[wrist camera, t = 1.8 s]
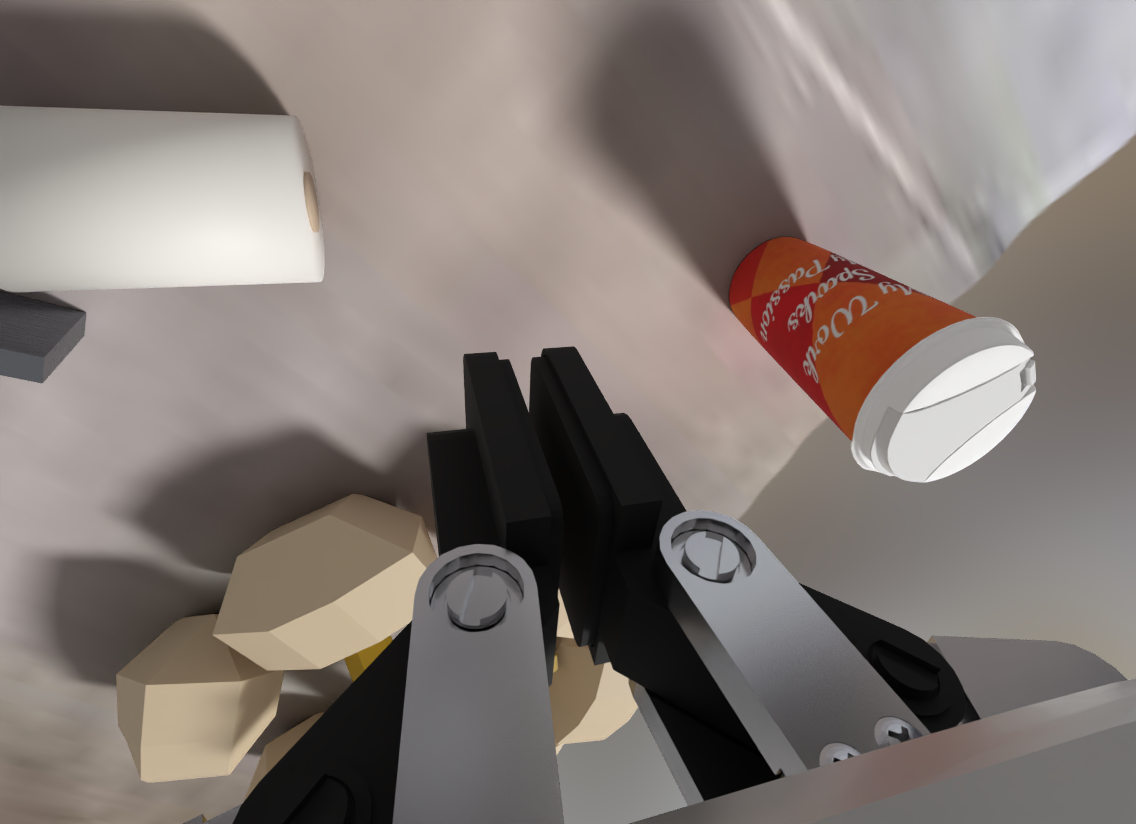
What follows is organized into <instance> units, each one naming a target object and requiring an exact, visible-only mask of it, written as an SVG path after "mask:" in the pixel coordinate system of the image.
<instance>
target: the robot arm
mask: <svg viewBox="0 0 1136 824" xmlns="http://www.w3.org/2000/svg"><path fill="white" fill-rule="evenodd" d="M463 364H464V389H465V413H466V429H462V430H452V431H442V432H433V433H427V443H428V454H429V465H430V475H431V485H432V495H433V505H434V515H435V524H436V533H437V542H438V551H439V557H438V558H437V559H436V560H435V561H433V562H432V563H431V564H429V565H428V567H427V568H426V570H425V571H424V573H423V574H422V575H421V577H420V578H419V581H418V584H417V588H416V591H415V596H414V606H413V616H412V621H411V622H410V623H409V624H408V625H407V626H406V627H405V628H404V629H403V630H402V631H401V632H400V633H399V634H398V636H397V637H396V638H395V639H394V640H393V641H392V642H391V643H390V644H389V645H388V646H387V647H386V648H385V649H384V650H383V651H382V652H381V654H380V655H379V656H378V657H377V658H376V659H375V660H374V661H373V662H372V663H371V664H370V665H369V666H368V667H367V668H366V669H365V670H364V672H363V673H362V674H361V675H360V676H359V677H358V678H357V679H356V680H355V681H354V682H353V683H352V684H351V685H350V686H349V687H348V688H347V689H346V691H345V692H344V693H343V694H342V695H341V696H340V697H339V698H338V699H337V700H336V701H335V702H334V703H333V704H332V705H331V706H330V707H329V709H328V710H327V711H326V712H325V713H324V714H323V715H322V716H321V717H320V718H319V719H318V720H317V721H316V722H315V723H314V724H313V725H312V727H311V728H310V729H309V730H308V731H307V732H306V733H305V734H304V735H303V736H302V737H301V738H300V739H299V740H298V741H297V742H296V743H295V745H294V746H293V747H292V748H291V749H290V750H289V751H288V752H287V753H286V754H285V755H284V756H283V757H282V758H281V759H280V760H279V761H278V762H277V764H276V765H275V766H274V767H273V768H272V769H271V770H270V771H269V772H268V773H267V774H266V775H265V776H264V777H263V778H262V779H261V780H260V782H259V783H258V784H257V785H256V787H255V788H254V789H253V791H252V792H251V793H250V795H249V796H248V797H247V799H246V800H245V801H244V802H243V804H241V805H239V806H237V807H235V808H233V809H231V810H229V811H227V812H225V813H223V814H221V815H219V816H216V817H214V818H212V819H210V820H208V821H207V820H206V818H205V817H204V816H203V814H201V815H199V816H197V817H195V818H193V819H191V820H189V821H187V822H185V823H183V824H564V817H563V809H562V800H561V791H560V782H559V774H558V765H557V756H556V747H555V738H554V730H553V721H552V712H551V703H550V695H549V687H550V686H551V684H552V679H553V668H554V658H555V648H556V638H557V627H558V617H559V607H560V603H559V600H558V590H560V594H561V597H562V600H563V603H564V607H565V610H566V613H567V616H568V620H569V623H570V626H571V629H572V633H573V636H574V639H575V642H576V644H577V646H578V647H583V646H587V645H588V647H589V650H590V653H591V656H592V660H593V663H594V666H595V665H600V664H604V663H609V662H611V665H612V668H613V670H614V671H616V672H618V673H620V674H622V675H623V676H625V677H627V678H628V684H629V687H630V690H631V693H632V696H633V698H634V700H635V702H636V704H637V706H638V708H639V710H640V712H641V714H642V716H643V718H644V720H645V722H646V724H647V726H648V728H649V730H650V732H651V734H652V735H653V737H654V739H655V741H656V743H657V745H658V747H659V749H660V751H661V753H662V755H663V757H664V759H665V761H666V763H667V765H668V767H669V769H670V771H671V773H672V775H673V777H674V779H675V781H676V783H677V785H678V787H679V789H680V791H681V793H682V795H683V797H684V799H685V801H686V803H687V805H688V806H687V807H683V808H680V809H677V810H673V811H670V812H667V813H664V814H660V815H657V816H654V817H650V818H647V819H643V820H640V821H637V822H633V823H630V824H1136V679H1131V680H1127V679H1126V678H1125V677H1124V676H1123V675H1122V674H1121V673H1120V672H1119V671H1118V670H1117V669H1116V668H1114V667H1113V666H1112V665H1110V664H1109V663H1107V662H1105V661H1104V660H1103V659H1101V658H1100V657H1098V656H1097V655H1095V654H1093V653H1091V652H1089V651H1087V650H1084V649H1082V648H1080V647H1078V646H1076V645H1073V644H1068V643H1063V642H1058V641H1042V640H1020V639H997V638H974V637H950V636H931V638H930V639H929V641H928V642H925V641H924V640H923V639H921V638H919V637H917V636H916V635H914V634H912V633H910V632H909V631H907V630H905V629H903V628H900V627H898V626H896V625H894V624H891V623H889V622H887V621H885V620H882V619H880V618H878V617H875V616H873V615H871V614H869V613H866V612H864V611H862V610H859V609H857V608H854V607H853V606H850V605H848V604H846V603H843V602H841V601H839V600H837V599H834V598H832V597H830V596H827V595H825V594H823V593H821V592H818V591H816V590H814V589H811V588H809V587H807V586H805V585H802V584H800V583H798V582H797V581H796V580H795V579H794V577H793V576H792V575H791V574H790V573H789V572H788V571H787V569H786V568H785V567H784V566H783V565H782V564H781V563H780V561H779V560H778V559H777V558H776V557H775V556H774V555H773V554H772V552H771V551H770V550H769V549H768V548H767V547H766V546H765V545H764V544H763V542H762V541H761V540H760V539H759V538H758V537H757V535H755V534H754V533H753V532H752V531H751V530H750V529H749V528H748V527H746V526H745V525H744V524H742V523H740V522H739V521H737V520H735V519H733V518H732V517H729V516H726V515H723V514H720V513H717V512H712V511H703V510H696V511H688V512H687V511H686V509H685V508H684V506H683V505H682V503H681V501H680V500H679V498H678V496H677V495H676V493H675V491H674V490H673V488H672V486H671V485H670V483H669V481H668V480H667V478H666V476H665V475H664V473H663V471H662V470H661V468H660V466H659V465H658V463H657V461H656V460H655V458H654V456H653V455H652V453H651V451H650V450H649V448H648V447H647V445H646V443H645V442H644V440H643V438H642V437H641V435H640V433H639V432H638V430H637V428H636V427H635V425H634V423H633V422H632V420H631V419H630V417H629V416H628V415H627V414H624V413H618V414H613V412H612V410H611V409H610V407H609V405H608V403H607V402H606V400H605V398H604V396H603V395H602V393H601V391H600V389H599V388H598V386H597V384H596V382H595V380H594V379H593V377H592V375H591V373H590V372H589V370H588V368H587V366H586V365H585V363H584V361H583V359H582V358H581V356H580V354H579V352H578V351H577V349H576V348H575V347H560V348H545V349H543V350H542V354H541V357H533V358H532V360H531V374H530V402H529V412H528V409H527V407H526V404H525V401H524V398H523V396H522V393H521V390H520V387H519V385H518V382H517V379H516V377H515V374H514V371H513V368H512V366H511V363H510V361H509V359H505V360H499V358H498V355H497V353H496V352H487V353H473V354H464V358H463Z"/></svg>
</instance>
